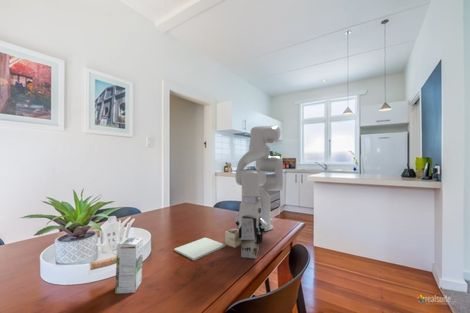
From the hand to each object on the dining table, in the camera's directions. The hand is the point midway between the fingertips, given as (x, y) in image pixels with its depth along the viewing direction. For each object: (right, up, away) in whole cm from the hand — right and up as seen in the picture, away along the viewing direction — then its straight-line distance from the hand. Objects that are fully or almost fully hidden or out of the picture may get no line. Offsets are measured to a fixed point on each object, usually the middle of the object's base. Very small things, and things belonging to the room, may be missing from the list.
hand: (250, 240), depth 88 cm
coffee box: (0, -6, 0) cm, 6 cm away
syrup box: (-39, -5, -24) cm, 46 cm away
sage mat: (-22, -6, +5) cm, 23 cm away
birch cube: (-7, -6, +10) cm, 14 cm away
